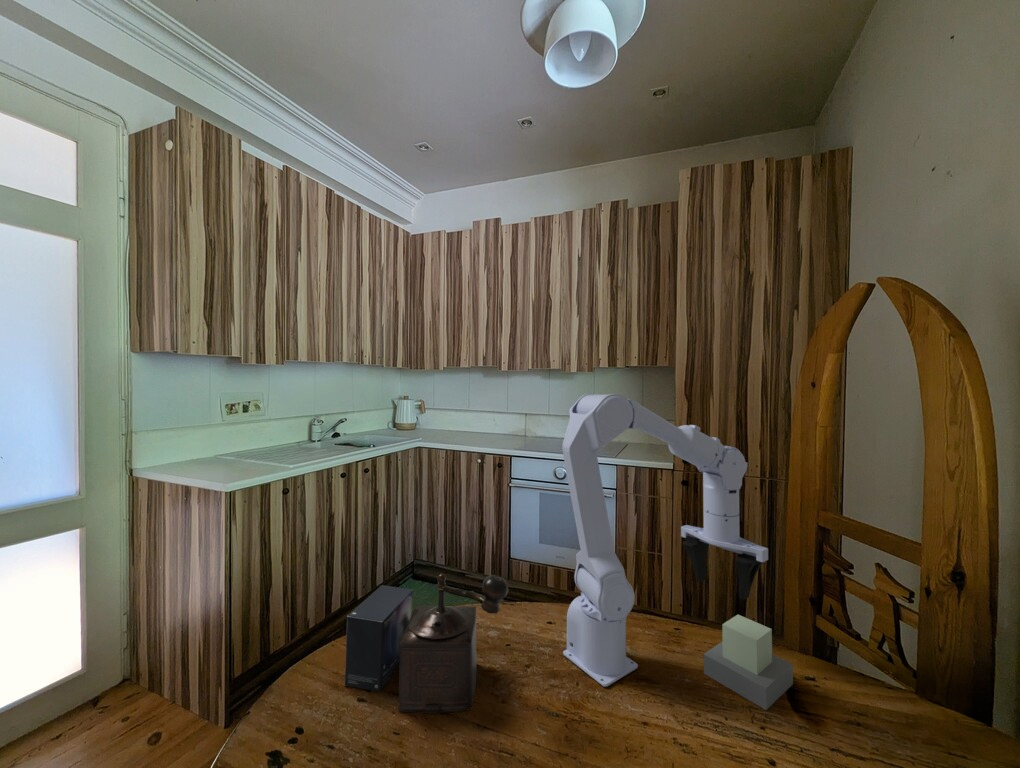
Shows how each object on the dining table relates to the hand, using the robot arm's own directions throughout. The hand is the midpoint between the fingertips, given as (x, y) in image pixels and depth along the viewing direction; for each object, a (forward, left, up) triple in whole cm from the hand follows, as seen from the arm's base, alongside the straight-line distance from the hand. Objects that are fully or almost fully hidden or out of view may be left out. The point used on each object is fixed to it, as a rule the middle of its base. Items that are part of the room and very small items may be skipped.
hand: (721, 588), depth 72 cm
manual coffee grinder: (-17, -44, -10) cm, 48 cm away
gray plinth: (+7, -6, -9) cm, 13 cm away
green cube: (+7, -6, -6) cm, 11 cm away
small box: (-28, -52, -10) cm, 60 cm away
